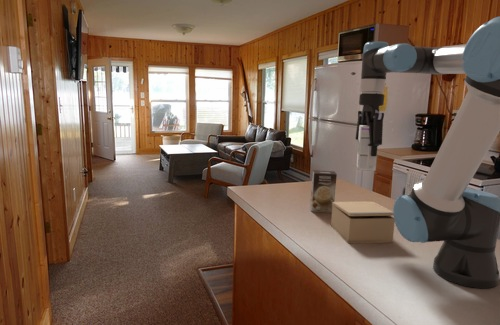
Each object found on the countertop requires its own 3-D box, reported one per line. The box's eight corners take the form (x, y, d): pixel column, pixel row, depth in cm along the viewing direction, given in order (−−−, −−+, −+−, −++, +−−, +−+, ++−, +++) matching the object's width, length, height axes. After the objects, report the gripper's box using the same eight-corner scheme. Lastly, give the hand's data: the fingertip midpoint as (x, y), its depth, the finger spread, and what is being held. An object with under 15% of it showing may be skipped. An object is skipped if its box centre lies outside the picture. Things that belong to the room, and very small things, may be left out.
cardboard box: (392, 242, 117) (394, 218, 115) (348, 243, 115) (350, 219, 113) (370, 224, 132) (372, 203, 131) (331, 225, 130) (332, 204, 129)
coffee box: (311, 211, 146) (313, 173, 143) (310, 207, 152) (312, 169, 149) (334, 213, 145) (336, 174, 142) (332, 208, 151) (334, 170, 148)
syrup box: (376, 171, 116) (380, 126, 114) (357, 170, 117) (360, 125, 115) (373, 168, 122) (377, 125, 119) (355, 167, 123) (358, 124, 120)
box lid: (395, 215, 115) (395, 212, 115) (350, 216, 113) (350, 213, 113) (372, 203, 131) (372, 201, 131) (332, 204, 129) (332, 201, 129)
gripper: (399, 93, 106) (391, 169, 110) (369, 93, 125) (363, 158, 129) (375, 92, 105) (368, 169, 109) (348, 92, 124) (343, 158, 128)
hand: (366, 163), depth 119 cm, fingers closed on syrup box, 7 cm apart
